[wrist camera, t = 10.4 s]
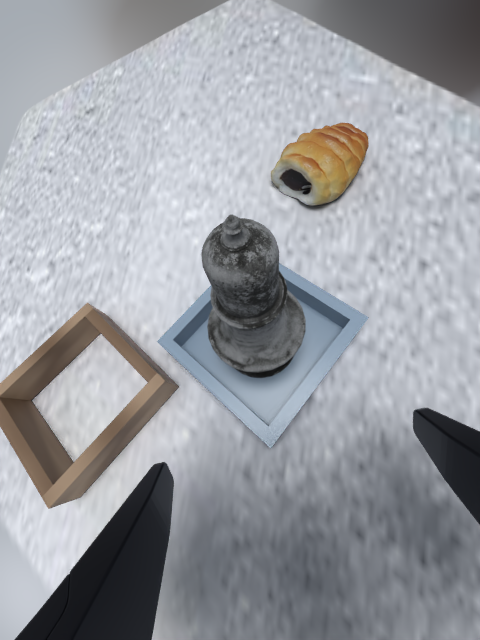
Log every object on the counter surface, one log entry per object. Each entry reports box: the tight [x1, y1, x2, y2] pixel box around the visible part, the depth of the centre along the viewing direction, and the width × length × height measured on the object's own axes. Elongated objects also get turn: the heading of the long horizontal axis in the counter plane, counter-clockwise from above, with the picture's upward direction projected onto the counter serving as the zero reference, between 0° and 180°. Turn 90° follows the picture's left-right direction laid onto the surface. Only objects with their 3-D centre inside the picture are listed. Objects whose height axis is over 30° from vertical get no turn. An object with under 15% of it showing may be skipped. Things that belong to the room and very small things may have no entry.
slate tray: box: [157, 263, 369, 448], centre depth 18 cm, size 10×10×2 cm
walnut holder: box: [0, 303, 179, 509], centre depth 18 cm, size 9×9×2 cm
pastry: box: [271, 123, 368, 206], centre depth 23 cm, size 9×7×4 cm
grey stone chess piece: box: [202, 215, 306, 378], centre depth 13 cm, size 6×6×12 cm
